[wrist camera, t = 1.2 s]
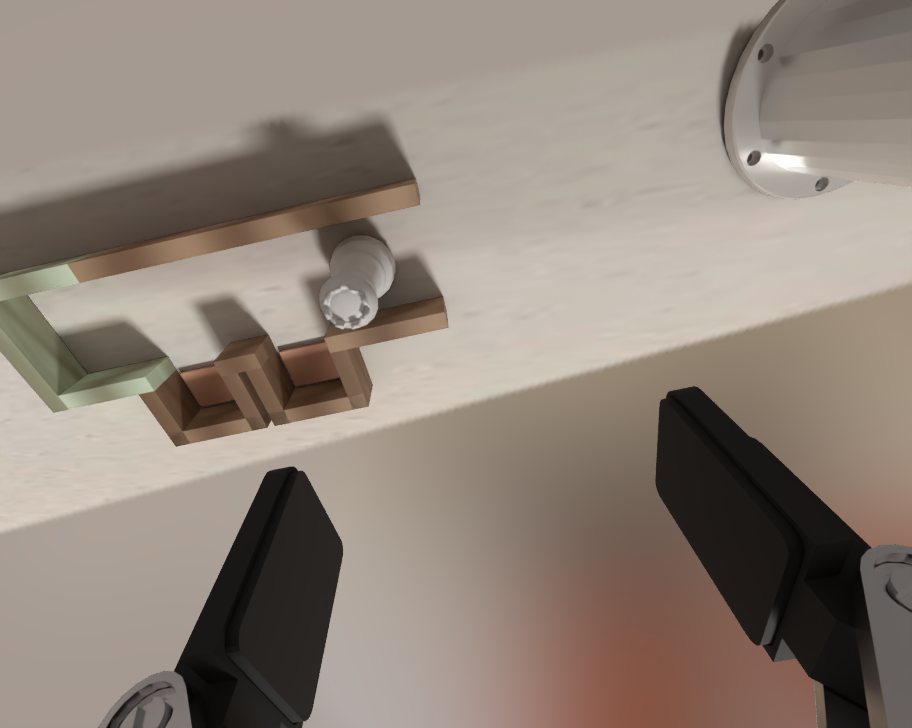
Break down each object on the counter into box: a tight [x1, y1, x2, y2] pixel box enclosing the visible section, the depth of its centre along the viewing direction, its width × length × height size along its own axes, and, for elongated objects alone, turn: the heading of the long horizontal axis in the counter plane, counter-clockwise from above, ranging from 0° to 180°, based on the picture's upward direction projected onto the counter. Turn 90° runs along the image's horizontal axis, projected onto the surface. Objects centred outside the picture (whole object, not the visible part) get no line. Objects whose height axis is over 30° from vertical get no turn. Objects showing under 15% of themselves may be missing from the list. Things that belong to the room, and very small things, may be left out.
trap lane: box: [0, 178, 449, 446], centre depth 30 cm, size 29×14×3 cm, turn 101°
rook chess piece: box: [319, 235, 396, 330], centre depth 26 cm, size 4×4×8 cm
